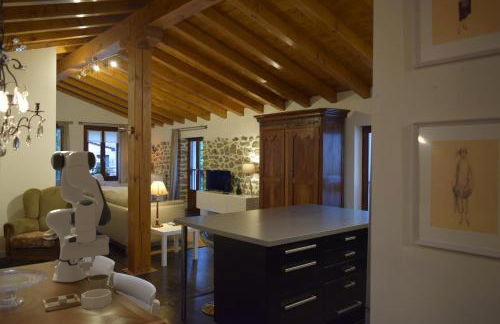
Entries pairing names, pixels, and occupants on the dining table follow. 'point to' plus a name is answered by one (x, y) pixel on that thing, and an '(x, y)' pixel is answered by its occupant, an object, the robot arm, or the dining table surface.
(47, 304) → the tray
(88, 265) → the tall grey rectangular block
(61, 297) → the block
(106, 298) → the bowl
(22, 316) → the dining table surface
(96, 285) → the flower pot
